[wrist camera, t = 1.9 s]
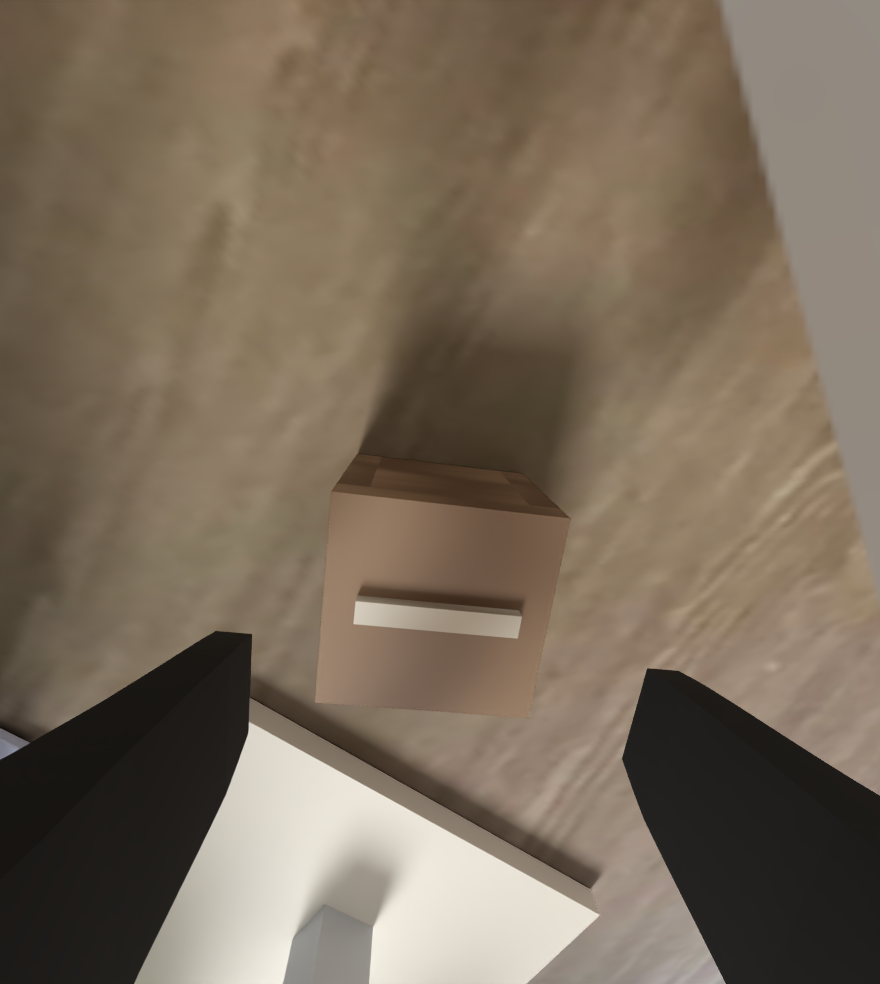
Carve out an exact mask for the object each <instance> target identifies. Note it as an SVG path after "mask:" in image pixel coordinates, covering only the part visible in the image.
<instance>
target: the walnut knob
mask: <svg viewBox="0 0 880 984" xmlns="http://www.w3.org/2000/svg"><path fill="white" fill-rule="evenodd" d="M570 519H571V518H569V517H568V516H567V515H566V514H565V513H564V512H563V511H562V510H561V509H560V508H559V507H558V506H556V505H555V504H554V503H553V502H552V501H551V500H550V499H549V498H548V497H547V496H546V495H545V494H544V493H542V492H541V491H540V490H539V489H538V488H537V487H536V486H535V485H534V484H533V483H532V482H531V481H529V480H528V479H527V478H526V477H525V476H524V475H523V474H521V473H512V472H504V471H496V470H488V469H479V468H471V467H463V466H454V465H446V464H438V463H429V462H421V461H413V460H405V459H396V458H388V457H380V456H371V455H363V454H357V455H356V457H355V458H354V459H353V461H352V462H351V464H350V465H349V467H348V468H347V470H346V471H345V472H344V474H343V475H342V477H341V478H340V480H339V481H338V483H337V484H336V485H335V487H334V488H333V490H332V491H331V501H330V514H329V527H328V540H327V553H326V566H325V579H324V592H323V604H322V617H321V630H320V643H319V656H318V669H317V682H316V695H315V702H316V703H330V704H343V705H357V706H371V707H385V708H398V709H412V710H426V711H440V712H453V713H467V714H481V715H494V716H508V717H522V718H528V717H529V712H530V708H531V703H532V698H533V693H534V689H535V684H536V679H537V675H538V670H539V665H540V660H541V656H542V651H543V646H544V641H545V637H546V632H547V627H548V623H549V618H550V613H551V608H552V604H553V599H554V594H555V590H556V585H557V580H558V575H559V571H560V566H561V561H562V557H563V552H564V547H565V542H566V538H567V533H568V528H569V524H570Z"/></svg>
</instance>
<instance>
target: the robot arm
mask: <svg viewBox="0 0 880 984" xmlns="http://www.w3.org/2000/svg"><path fill="white" fill-rule="evenodd" d="M251 649H252V634H244V633H232V632H220V631H215V632H214V633H212V634H210V635H208V636H207V637H205V638H203V639H202V640H200V641H198V642H197V643H195V644H193V645H192V646H190V647H189V648H187V649H185V650H184V651H182V652H181V653H179V654H178V655H176V656H174V657H173V658H171V659H170V660H168V661H167V662H165V663H163V664H162V665H160V666H159V667H157V668H156V669H154V670H152V671H151V672H149V673H148V674H146V675H144V676H143V677H141V678H139V679H138V680H136V681H135V682H133V683H131V684H130V685H128V686H127V687H125V688H123V689H122V690H120V691H119V692H117V693H115V694H114V695H112V696H110V697H109V698H107V699H106V700H104V701H102V702H101V703H99V704H97V705H96V706H94V707H92V708H90V709H89V710H87V711H85V712H83V713H82V714H80V715H78V716H76V717H75V718H73V719H71V720H69V721H68V722H66V723H64V724H62V725H61V726H59V727H57V728H55V729H54V730H52V731H50V732H48V733H47V734H45V735H43V736H41V737H40V738H38V739H36V740H34V741H33V742H31V743H30V742H28V741H26V740H23V739H21V738H19V737H17V736H15V735H13V734H11V733H9V732H7V731H5V730H3V729H1V728H0V984H134V983H135V981H136V979H137V976H138V974H139V972H140V970H141V968H142V966H143V964H144V962H145V960H146V958H147V956H148V954H149V951H150V949H151V947H152V945H153V943H154V941H155V939H156V937H157V935H158V933H159V931H160V929H161V927H162V925H163V923H164V921H165V919H166V917H167V915H168V913H169V911H170V909H171V907H172V905H173V903H174V901H175V899H176V897H177V895H178V892H179V890H180V888H181V886H182V884H183V882H184V880H185V878H186V876H187V874H188V872H189V870H190V868H191V866H192V864H193V862H194V860H195V858H196V856H197V854H198V852H199V850H200V848H201V846H202V844H203V842H204V839H205V837H206V835H207V833H208V831H209V829H210V827H211V825H212V823H213V821H214V819H215V817H216V815H217V813H218V811H219V808H220V806H221V804H222V802H223V800H224V798H225V796H226V793H227V791H228V788H229V785H230V783H231V780H232V777H233V775H234V772H235V769H236V767H237V764H238V761H239V758H240V755H241V753H242V750H243V747H244V744H245V741H246V739H247V736H248V732H249V704H250V676H251ZM622 760H623V763H624V766H625V768H626V771H627V774H628V777H629V780H630V783H631V786H632V789H633V792H634V794H635V797H636V799H637V802H638V805H639V807H640V810H641V813H642V815H643V818H644V820H645V822H646V824H647V826H648V828H649V831H650V833H651V835H652V837H653V839H654V841H655V843H656V845H657V847H658V849H659V851H660V853H661V855H662V857H663V859H664V861H665V863H666V865H667V867H668V869H669V871H670V873H671V875H672V877H673V879H674V881H675V883H676V885H677V887H678V889H679V891H680V893H681V895H682V897H683V899H684V901H685V903H686V905H687V907H688V909H689V911H690V913H691V915H692V917H693V919H694V921H695V923H696V925H697V927H698V929H699V931H700V933H701V935H702V937H703V939H704V941H705V943H706V945H707V947H708V949H709V951H710V953H711V955H712V957H713V959H714V961H715V963H716V965H717V967H718V969H719V971H720V973H721V975H722V977H723V979H724V981H725V983H726V984H880V796H879V795H878V794H876V793H874V792H873V791H871V790H869V789H868V788H866V787H864V786H863V785H861V784H859V783H858V782H856V781H854V780H853V779H851V778H850V777H848V776H846V775H845V774H843V773H842V772H840V771H838V770H837V769H835V768H833V767H832V766H830V765H829V764H827V763H825V762H824V761H822V760H821V759H819V758H818V757H816V756H814V755H813V754H811V753H810V752H808V751H807V750H805V749H803V748H802V747H800V746H799V745H797V744H796V743H794V742H793V741H791V740H789V739H788V738H786V737H785V736H783V735H782V734H780V733H779V732H777V731H775V730H774V729H772V728H771V727H769V726H768V725H766V724H765V723H763V722H762V721H760V720H758V719H757V718H755V717H754V716H752V715H751V714H749V713H748V712H746V711H744V710H743V709H741V708H740V707H738V706H737V705H735V704H734V703H732V702H730V701H729V700H727V699H726V698H724V697H723V696H721V695H719V694H718V693H716V692H714V691H713V690H711V689H710V688H708V687H706V686H705V685H703V684H701V683H700V682H698V681H696V680H694V679H693V678H691V677H689V676H687V675H685V674H683V673H681V672H679V671H673V670H661V669H649V668H647V671H646V675H645V678H644V682H643V686H642V689H641V693H640V696H639V700H638V704H637V707H636V711H635V714H634V718H633V721H632V725H631V729H630V732H629V736H628V739H627V743H626V746H625V750H624V754H623V757H622Z"/></svg>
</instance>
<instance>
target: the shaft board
mask: <svg viewBox="0 0 880 984" xmlns="http://www.w3.org/2000/svg"><path fill="white" fill-rule="evenodd" d="M599 915H600V914H599V911H598V908H597V905H596V902H595V899H594V896H593V893H592V890H591V889H589V888H587V887H585V886H584V885H582V884H580V883H578V882H577V881H575V880H573V879H571V878H569V877H568V876H566V875H564V874H562V873H561V872H559V871H557V870H555V869H553V868H552V867H550V866H548V865H546V864H545V863H543V862H541V861H539V860H538V859H536V858H534V857H532V856H530V855H529V854H527V853H525V852H523V851H522V850H520V849H518V848H516V847H514V846H513V845H511V844H509V843H507V842H506V841H504V840H502V839H500V838H498V837H497V836H495V835H493V834H491V833H490V832H488V831H486V830H484V829H482V828H481V827H479V826H477V825H475V824H474V823H472V822H470V821H468V820H466V819H465V818H463V817H461V816H459V815H458V814H456V813H454V812H452V811H450V810H449V809H447V808H445V807H443V806H442V805H440V804H438V803H436V802H434V801H433V800H431V799H429V798H427V797H426V796H424V795H422V794H420V793H418V792H417V791H415V790H413V789H411V788H410V787H408V786H406V785H404V784H402V783H401V782H399V781H397V780H395V779H394V778H392V777H390V776H388V775H386V774H385V773H383V772H381V771H379V770H378V769H376V768H374V767H372V766H370V765H369V764H367V763H365V762H363V761H362V760H360V759H358V758H356V757H354V756H353V755H351V754H349V753H347V752H346V751H344V750H342V749H340V748H338V747H337V746H335V745H333V744H331V743H330V742H328V741H326V740H324V739H323V738H321V737H319V736H317V735H315V734H314V733H312V732H310V731H308V730H307V729H305V728H303V727H301V726H299V725H298V724H296V723H294V722H292V721H291V720H289V719H287V718H285V717H283V716H282V715H280V714H278V713H276V712H275V711H273V710H271V709H269V708H267V707H266V706H264V705H262V704H260V703H259V702H257V701H255V700H253V699H251V698H250V704H249V732H248V736H247V739H246V741H245V744H244V747H243V750H242V753H241V755H240V758H239V761H238V764H237V767H236V769H235V772H234V775H233V777H232V780H231V783H230V785H229V788H228V791H227V793H226V796H225V798H224V800H223V802H222V804H221V806H220V808H219V811H218V813H217V815H216V817H215V819H214V821H213V823H212V825H211V827H210V829H209V831H208V833H207V835H206V837H205V839H204V842H203V844H202V846H201V848H200V850H199V852H198V854H197V856H196V858H195V860H194V862H193V864H192V866H191V868H190V870H189V872H188V874H187V876H186V878H185V880H184V882H183V884H182V886H181V888H180V890H179V892H178V895H177V897H176V899H175V901H174V903H173V905H172V907H171V909H170V911H169V913H168V915H167V917H166V919H165V921H164V923H163V925H162V927H161V929H160V931H159V933H158V935H157V937H156V939H155V941H154V943H153V945H152V947H151V949H150V951H149V954H148V956H147V958H146V960H145V962H144V964H143V966H142V968H141V970H140V972H139V974H138V976H137V979H136V981H135V983H134V984H527V983H528V982H529V981H530V980H531V979H532V978H533V977H534V976H535V975H536V974H537V973H538V972H539V971H540V970H542V969H543V968H544V967H545V966H546V965H547V964H548V963H549V962H550V961H551V960H552V959H553V958H554V957H555V956H557V955H558V954H559V953H560V952H561V951H562V950H563V949H564V948H565V947H566V946H567V945H568V944H569V943H570V942H572V941H573V940H574V939H575V938H576V937H577V936H578V935H579V934H580V933H581V932H582V931H583V930H584V929H585V928H587V927H588V926H589V925H590V924H591V923H592V922H593V921H594V920H595V919H596V918H597V917H598V916H599Z"/></svg>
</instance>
